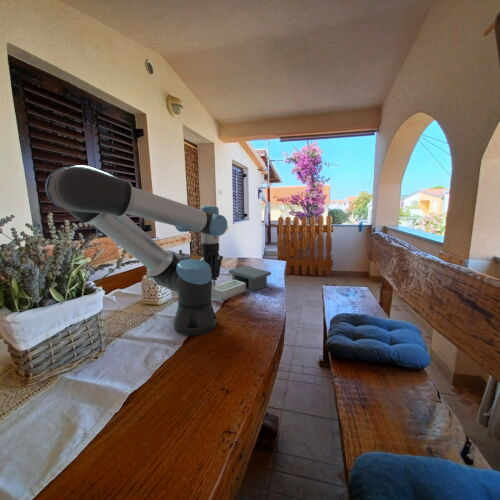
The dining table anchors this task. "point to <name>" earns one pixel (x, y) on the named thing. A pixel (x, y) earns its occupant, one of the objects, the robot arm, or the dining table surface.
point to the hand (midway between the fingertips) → (211, 293)
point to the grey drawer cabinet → (250, 276)
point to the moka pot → (182, 255)
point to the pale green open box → (229, 289)
